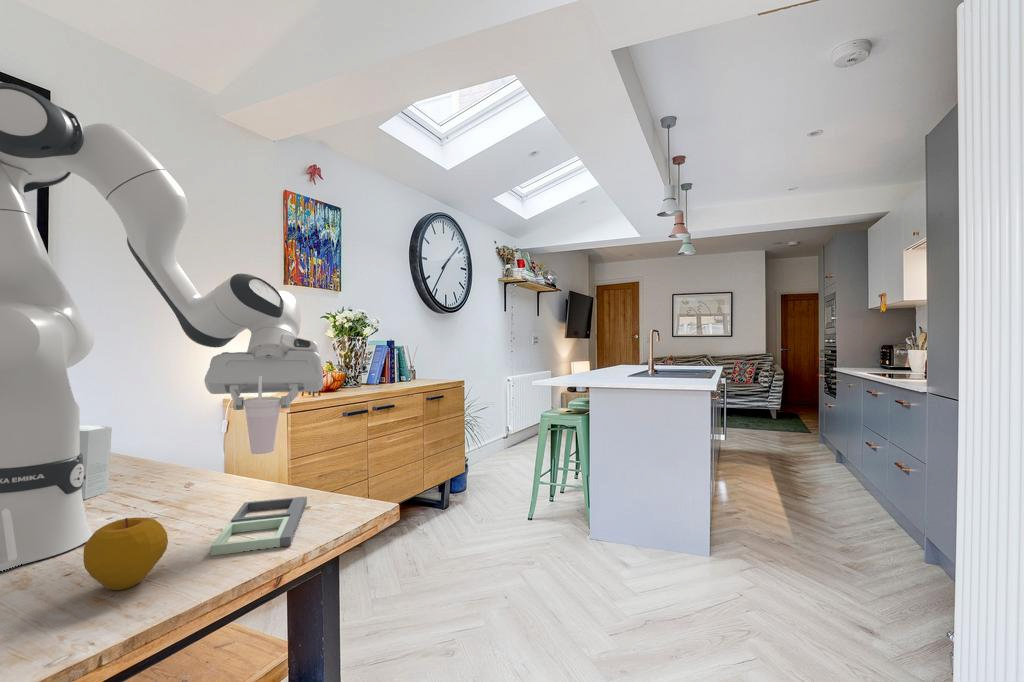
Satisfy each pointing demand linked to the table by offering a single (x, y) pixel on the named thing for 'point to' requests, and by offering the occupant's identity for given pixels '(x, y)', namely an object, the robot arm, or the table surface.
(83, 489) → the skincare box
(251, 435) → the smoothie
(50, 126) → the robot arm
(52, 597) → the table surface
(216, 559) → the table surface
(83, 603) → the table surface
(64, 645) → the table surface
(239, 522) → the rail
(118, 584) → the apple
